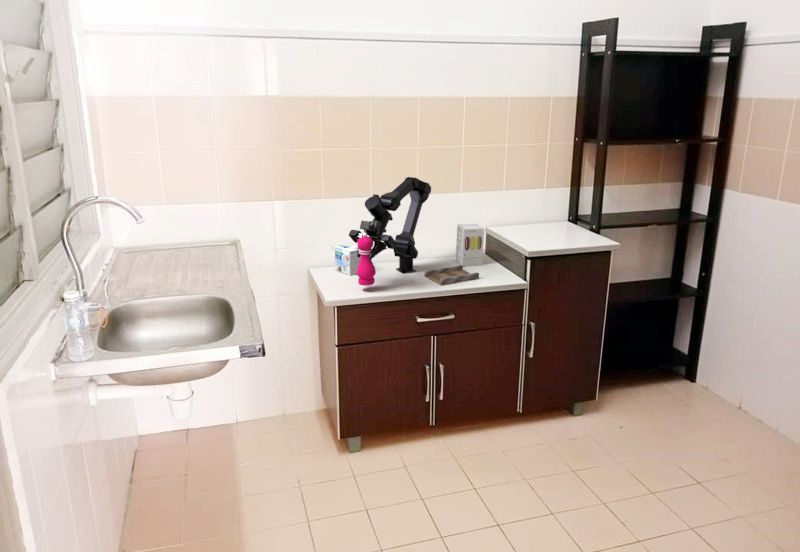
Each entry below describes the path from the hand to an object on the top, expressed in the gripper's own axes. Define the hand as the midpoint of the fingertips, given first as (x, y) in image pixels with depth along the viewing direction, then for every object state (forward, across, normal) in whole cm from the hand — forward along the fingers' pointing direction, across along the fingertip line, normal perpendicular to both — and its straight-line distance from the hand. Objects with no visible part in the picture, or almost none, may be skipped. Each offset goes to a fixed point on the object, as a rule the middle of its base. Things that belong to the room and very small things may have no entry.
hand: (363, 258), depth 235 cm
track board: (-14, +21, +33) cm, 41 cm away
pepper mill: (+6, 0, +9) cm, 11 cm away
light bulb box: (-2, -20, +22) cm, 30 cm away
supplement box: (-29, +18, +49) cm, 60 cm away
